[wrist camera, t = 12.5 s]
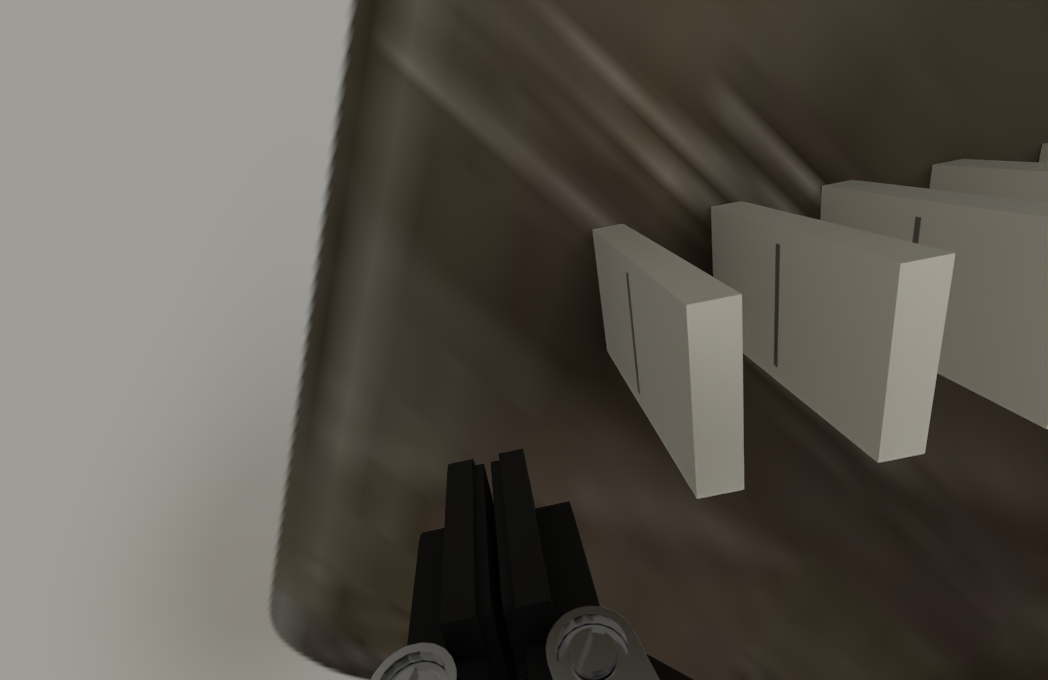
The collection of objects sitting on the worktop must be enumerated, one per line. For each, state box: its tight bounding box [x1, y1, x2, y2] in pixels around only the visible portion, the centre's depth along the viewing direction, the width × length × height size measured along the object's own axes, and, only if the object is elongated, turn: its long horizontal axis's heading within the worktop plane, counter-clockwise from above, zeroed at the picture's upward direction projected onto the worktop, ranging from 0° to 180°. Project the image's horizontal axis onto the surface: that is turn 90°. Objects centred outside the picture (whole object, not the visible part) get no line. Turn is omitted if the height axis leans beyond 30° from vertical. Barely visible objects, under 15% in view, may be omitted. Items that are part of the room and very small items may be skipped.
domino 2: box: [711, 201, 956, 463], centre depth 19 cm, size 1×6×11 cm, turn 9°
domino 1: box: [592, 224, 744, 499], centre depth 19 cm, size 1×6×11 cm, turn 10°
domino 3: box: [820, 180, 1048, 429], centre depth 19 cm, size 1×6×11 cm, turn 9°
